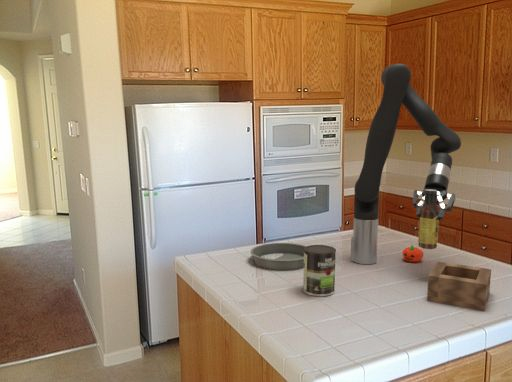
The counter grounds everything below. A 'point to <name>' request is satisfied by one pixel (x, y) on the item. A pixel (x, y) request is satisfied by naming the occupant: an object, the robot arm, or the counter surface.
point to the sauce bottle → (429, 221)
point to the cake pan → (288, 261)
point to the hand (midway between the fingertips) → (429, 218)
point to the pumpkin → (412, 254)
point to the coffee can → (319, 270)
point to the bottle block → (459, 285)
